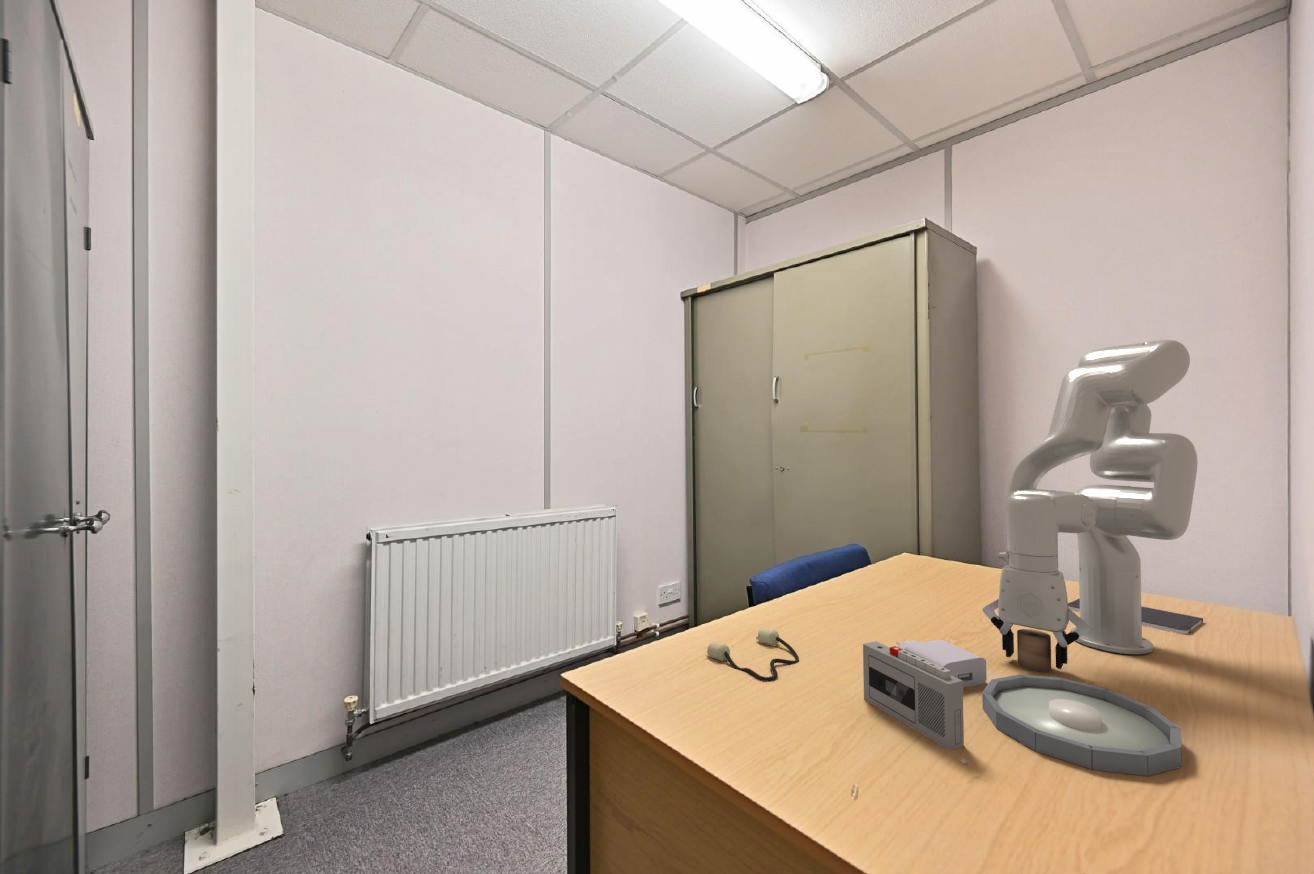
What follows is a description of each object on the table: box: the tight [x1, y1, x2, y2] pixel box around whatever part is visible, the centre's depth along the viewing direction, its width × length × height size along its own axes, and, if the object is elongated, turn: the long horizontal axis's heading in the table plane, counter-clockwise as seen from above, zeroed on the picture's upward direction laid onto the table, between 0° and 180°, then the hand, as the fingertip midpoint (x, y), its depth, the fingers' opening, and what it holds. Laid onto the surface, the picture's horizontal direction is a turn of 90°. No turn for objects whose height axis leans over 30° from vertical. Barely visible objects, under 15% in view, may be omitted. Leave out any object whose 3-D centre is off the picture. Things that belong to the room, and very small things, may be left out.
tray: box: [981, 673, 1182, 777], centre depth 78 cm, size 22×22×2 cm
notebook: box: [1068, 597, 1204, 635], centre depth 124 cm, size 13×2×21 cm
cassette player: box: [862, 641, 965, 751], centre depth 80 cm, size 16×3×10 cm, turn 23°
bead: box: [1016, 628, 1052, 674], centre depth 97 cm, size 5×5×6 cm
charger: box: [896, 639, 988, 688], centre depth 97 cm, size 5×9×15 cm
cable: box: [706, 627, 800, 682], centre depth 103 cm, size 16×16×4 cm
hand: (1034, 659), depth 97 cm, fingers open, 6 cm apart
